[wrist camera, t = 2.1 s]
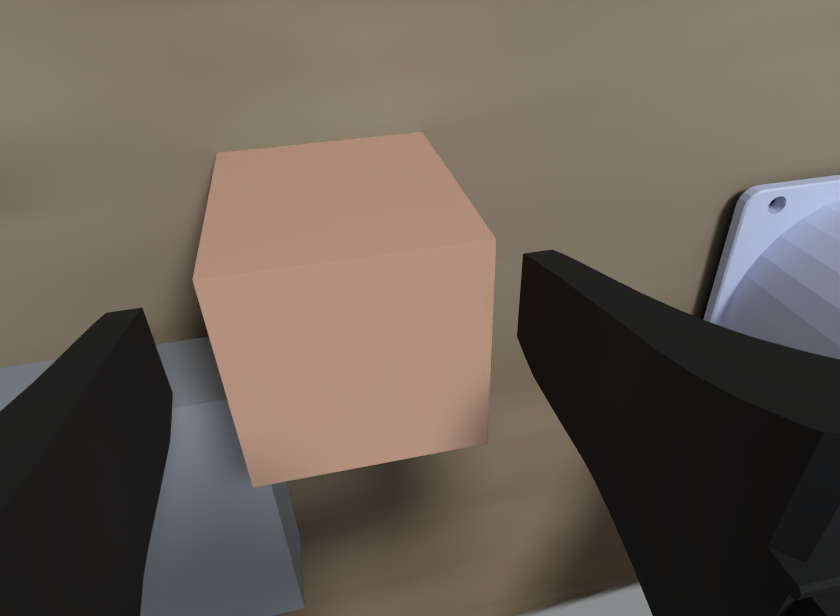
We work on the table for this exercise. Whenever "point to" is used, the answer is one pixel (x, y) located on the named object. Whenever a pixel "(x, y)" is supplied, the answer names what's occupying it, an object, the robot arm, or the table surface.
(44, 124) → the table surface
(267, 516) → the slate block
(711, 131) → the table surface
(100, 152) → the table surface
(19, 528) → the robot arm
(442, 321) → the terracotta cube
